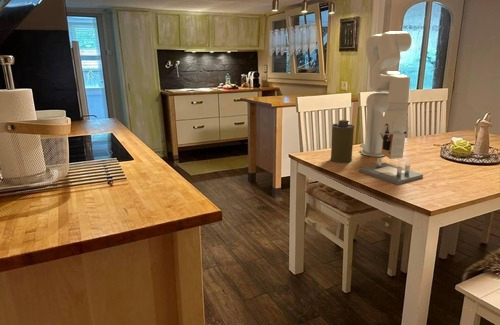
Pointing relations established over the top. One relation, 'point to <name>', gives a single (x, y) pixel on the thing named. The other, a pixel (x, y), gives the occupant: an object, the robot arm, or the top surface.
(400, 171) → the guide pins
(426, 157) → the top surface
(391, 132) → the robot arm
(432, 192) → the top surface
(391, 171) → the pin board
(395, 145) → the small box
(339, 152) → the canister
